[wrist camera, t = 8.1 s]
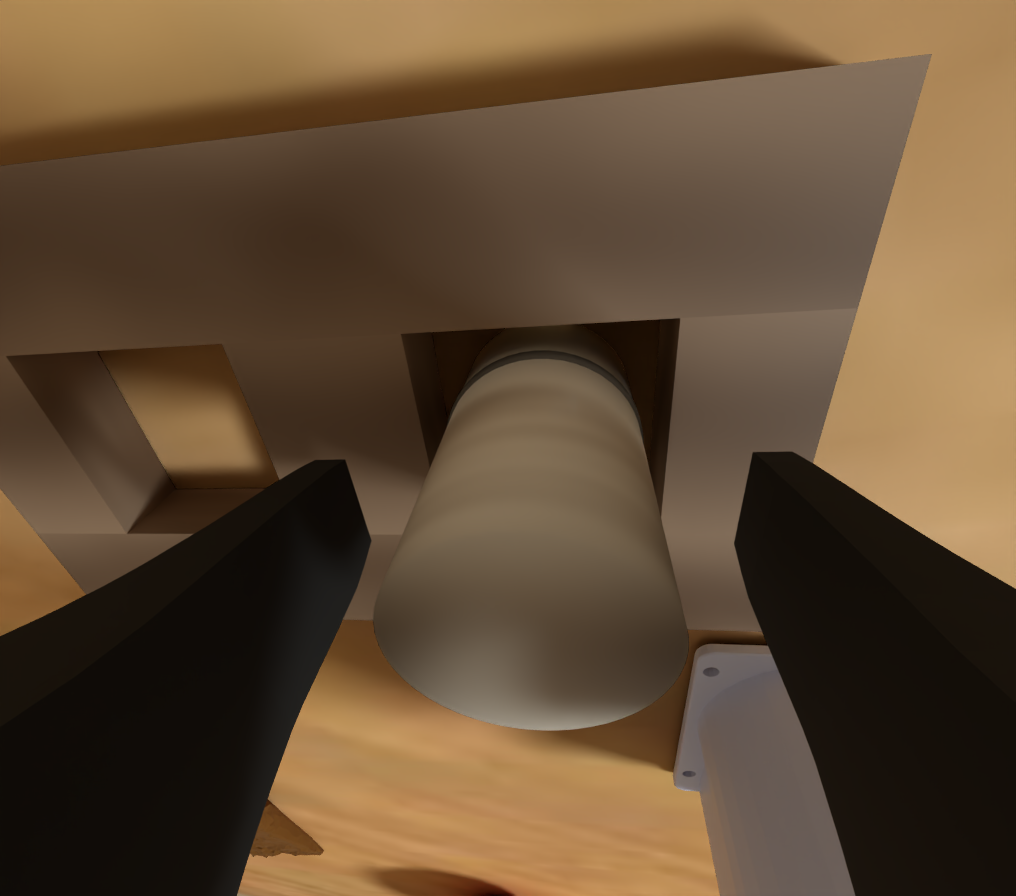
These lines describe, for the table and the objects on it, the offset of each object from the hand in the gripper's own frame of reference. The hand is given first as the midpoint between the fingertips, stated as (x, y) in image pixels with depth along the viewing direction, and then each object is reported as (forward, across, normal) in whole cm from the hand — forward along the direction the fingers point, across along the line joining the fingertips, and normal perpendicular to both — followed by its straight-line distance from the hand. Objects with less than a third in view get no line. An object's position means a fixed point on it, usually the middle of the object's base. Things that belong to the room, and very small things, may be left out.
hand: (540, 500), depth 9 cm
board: (+4, +5, 0) cm, 6 cm away
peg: (+4, 0, 0) cm, 4 cm away
